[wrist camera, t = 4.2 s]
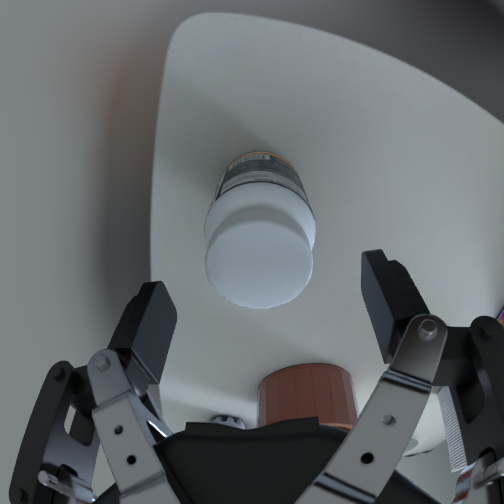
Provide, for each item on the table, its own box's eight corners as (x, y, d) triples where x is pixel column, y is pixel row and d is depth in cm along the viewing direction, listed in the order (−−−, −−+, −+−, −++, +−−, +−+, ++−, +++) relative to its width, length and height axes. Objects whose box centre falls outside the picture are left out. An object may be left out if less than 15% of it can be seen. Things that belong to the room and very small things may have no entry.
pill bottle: (279, 232, 23) (288, 330, 15) (209, 206, 22) (179, 295, 14) (313, 168, 20) (350, 242, 12) (237, 136, 19) (217, 188, 11)
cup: (458, 369, 35) (488, 450, 22) (478, 374, 37) (505, 444, 24) (422, 398, 40) (442, 475, 27) (445, 400, 41) (465, 468, 28)
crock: (266, 413, 40) (265, 459, 33) (249, 370, 33) (246, 429, 27) (349, 402, 38) (356, 449, 32) (355, 355, 32) (368, 414, 25)
